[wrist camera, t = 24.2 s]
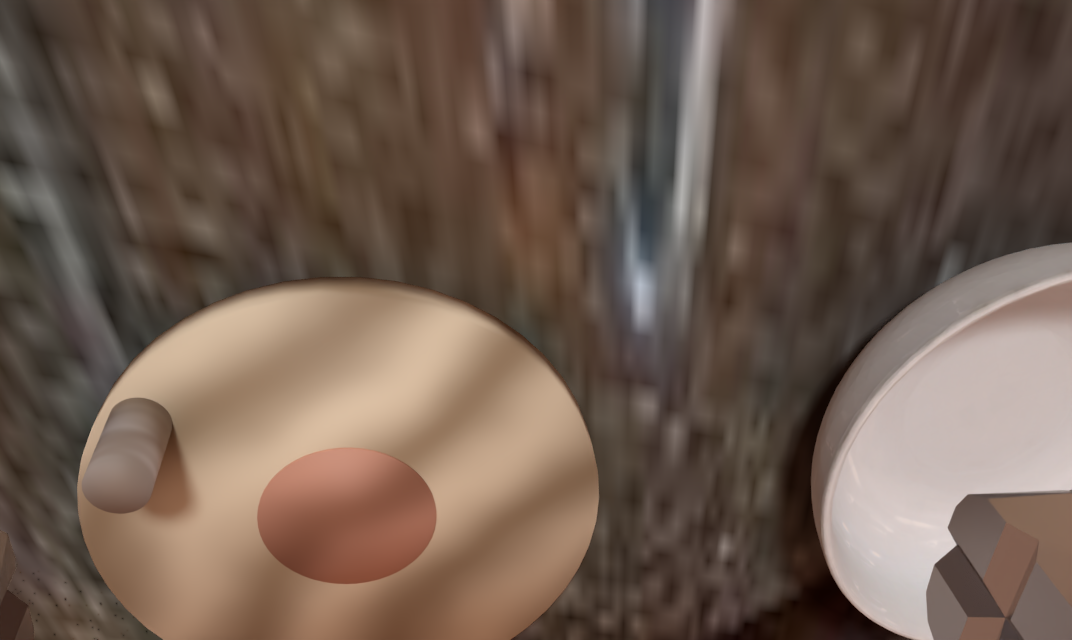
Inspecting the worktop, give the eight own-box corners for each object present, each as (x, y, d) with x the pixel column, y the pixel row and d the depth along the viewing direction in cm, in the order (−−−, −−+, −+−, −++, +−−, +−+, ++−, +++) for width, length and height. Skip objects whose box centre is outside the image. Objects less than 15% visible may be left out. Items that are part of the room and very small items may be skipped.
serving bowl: (903, 608, 56) (962, 711, 50) (686, 390, 47) (727, 487, 41) (1253, 388, 51) (1365, 476, 45) (1088, 92, 41) (1202, 153, 35)
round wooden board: (691, 432, 45) (725, 514, 41) (417, 717, 53) (419, 814, 48) (251, 173, 37) (230, 240, 32) (-1, 558, 44) (-48, 657, 40)
